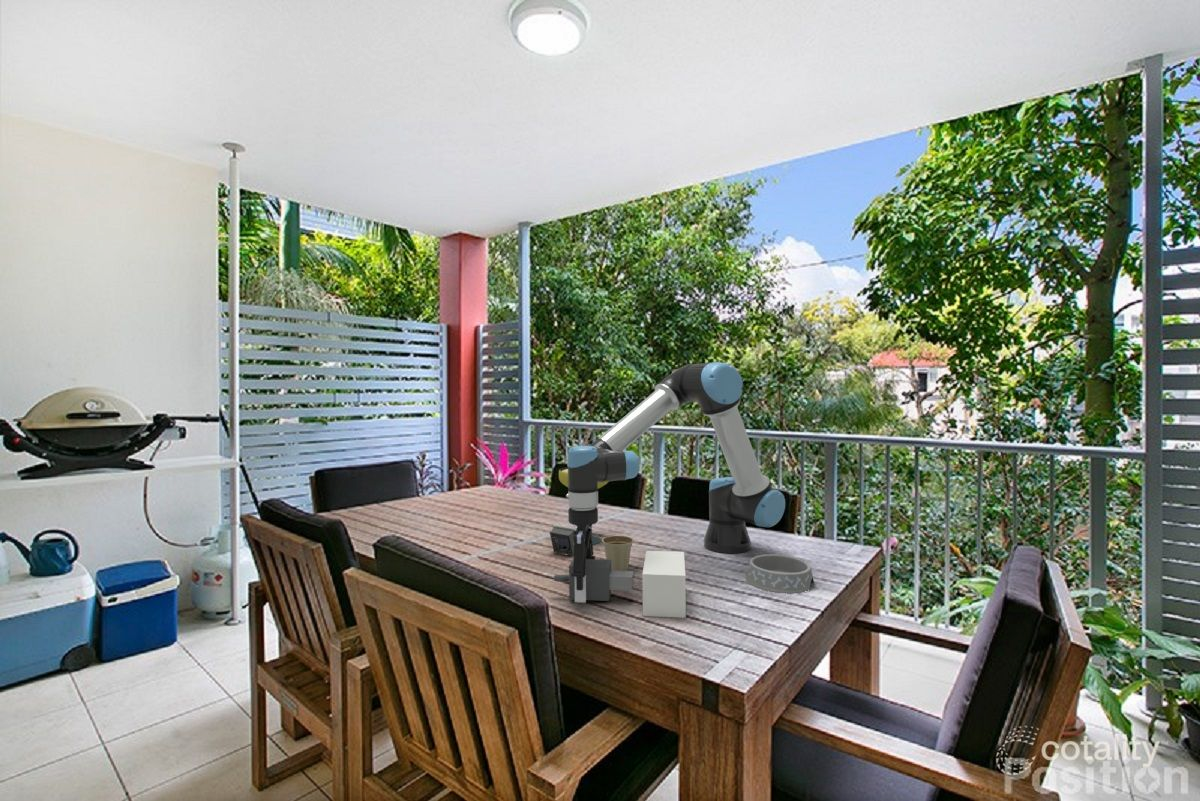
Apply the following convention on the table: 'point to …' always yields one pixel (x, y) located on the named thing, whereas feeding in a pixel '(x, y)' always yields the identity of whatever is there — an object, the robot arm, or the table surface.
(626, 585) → the plug
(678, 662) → the table surface
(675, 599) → the white rectangular block
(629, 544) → the flower pot
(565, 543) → the electrical switch
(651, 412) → the robot arm
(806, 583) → the dog bowl
